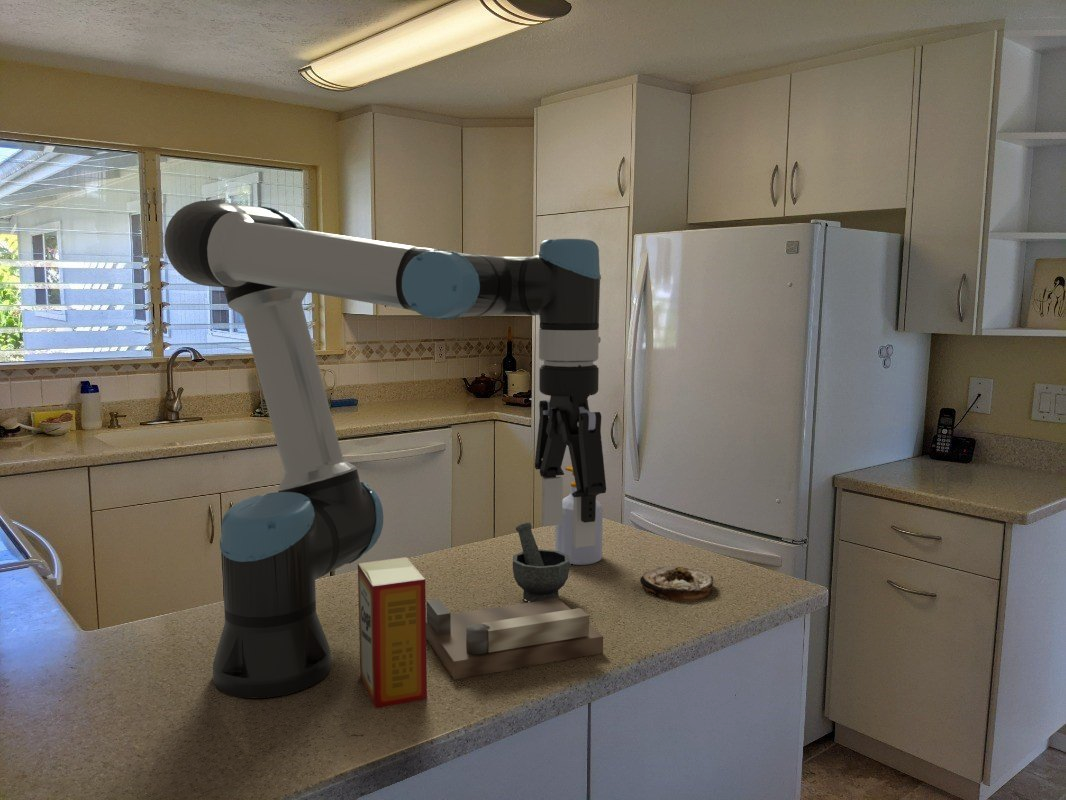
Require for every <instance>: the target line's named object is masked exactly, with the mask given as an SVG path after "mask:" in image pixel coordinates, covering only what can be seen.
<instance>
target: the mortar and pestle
mask: <svg viewBox="0 0 1066 800" xmlns="http://www.w3.org/2000/svg"><path fill="white" fill-rule="evenodd" d="M532 528H533V526H532V523H531V522H523V523H520V524H518V525H516V526H515V530H516V532H517V533H518V537H519V540H520V544H521V550H522V551H521V552H519V553H516V554H513V555H512V573H513V579H514V580H515V582H516V584H517V585H518V587H519V588H521V589H522V590H523V596H522V599H523V598H524V599H526V600H527V601H530V602H535V601H542V600H549V599H556V598H558V599H559V598H560V597H559V595H560V594H559V591H560V589H561V588H562V587H563V586H565V583H566V582H567V580H568V578H569V573H570V564H569V555H566V554H564V553H561V552H559V551H555V550H553V549H552V550H551V549H542V548H539V547H538V544H537V542H536V539H535V537H534V534H533V532H532ZM559 600H560V599H559Z"/></svg>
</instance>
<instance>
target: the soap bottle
mask: <svg viewBox="0 0 1066 800" xmlns="http://www.w3.org/2000/svg"><path fill="white" fill-rule="evenodd" d="M564 468H565V469H564V470H565V471H568V472H572V473H571V475H572V476H573V477H574V472H573V467H572V465H571V466H565V467H564ZM575 491H577V488H576V483H575V480H574V481H571V482H570V493H569V495H567V496H565V497H563V500H562V525H555V526H554V528H555V537H554V540H555V541H554V543H555V544H554V549H555V550H554V551H559V552H561V553H564V554H566V555H569V565H571V564H573V566H588V565H593V564H596V563H598V562H600V561H601V560H602V558H603V528H604V527H603V526H604V525H603V524H604V522H603V518H604V517H603V516H604V513H603V511H604V509H603V507H602V505H601V502H599V501H598V500H597V499H596V540H595V545H594V546H586V547H578V548H575V547H574V546H573V521H574V497H573V495H572V493H574V492H575Z"/></svg>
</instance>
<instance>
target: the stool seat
mask: <svg viewBox="0 0 1066 800" xmlns="http://www.w3.org/2000/svg"><path fill="white" fill-rule="evenodd" d="M564 610H571V608H570V607H569V606H568V605H566V604H565V603H564V602H563V601H562V600H561V599H558V598H556V599H549V600H542V601H535V602H529V603H528V602H522V603H516V604H509V605H503V606H501V605H500V606H496V607H495V606H494V607H489V608H482V609H475V610H467V611H462V612H455V613H451V612H450V611H449V609H448V608H447V607H446V605H444V603H443V602H442V600H441V599H440V598H437V599H429V600H426V641H427V642H428V643H429V642H430V643H429V644H430V646H431V645H432V646H431V647H432V649H433V648H434V649H433V651H434V652H435V653H436V654H437V656H438V658H439V659H440V660H441V662H442V664H443V665H444V667H445V668H446V669H447V671H448V672H449V674H450V676H451V677H452V678H453V680H460V679H465V678H471V677H476V676H482V675H488V674H493V673H498V672H504V671H510V670H515V669H521V668H527V667H532V665H533V666H538V664H539V665H543V664H545V665H546V664H549V663H555V662H554V661H556V662H561V660H562V661H566V660H572V658H573V659H577V658H583V656H584V657H589V656H593V655H599V654H600V653H601V654H604V635H602V634H601V633H600V632H599V631H597V629H595V628H594V627H593V626H591V625H590V624H589V636H585V637H579V638H573V639H567V640H561V641H555V642H549V643H543V644H537V645H531V646H525V647H519V648H513V649H507V650H501V651H495V652H487V653H484V654H471V653H468V652H467V651H466V628H467V626H469V625H472V624H482V623H486V622H492V621H499V620H505V619H512V618H518V617H525V616H531V615H538V614H545V613H551V612H558V611H564Z"/></svg>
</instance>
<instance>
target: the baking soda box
mask: <svg viewBox="0 0 1066 800" xmlns="http://www.w3.org/2000/svg"><path fill="white" fill-rule="evenodd" d="M357 580H358V581H357V583H358V584H357V587H358V589H357V590H358V624H359V627H358V628H359V629H358V633H359V634H358V635H359V666H360V667H359V668H360V670H359V671H360V672H359V675H360V678H361V681H362V682H363V684H364V687H365V689H366V691H367V693H368V695H369V697H370V699H371V701H372V703H373V704H372V705H373V706H374V708H375V709H379V708H386V707H391V706H396V705H402V704H406V703H407V704H408V703H413V702H416V701H417V702H418V701H422V700H423V701H424V700H427V699H428V682H427V681H428V680H427V673H428V670H427V669H428V668H427V663H428V662H427V638H426V617H427V600H426V578H425V577H424V575H422V573H420V571H419V570H418V568H416V566H415V565H414V564H413V563H412V562H411V561H410V559H409V558H408V557H407V556H402V557H397V558H389V559H387V558H386V559H378V560H371V561H362V562H357Z"/></svg>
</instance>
